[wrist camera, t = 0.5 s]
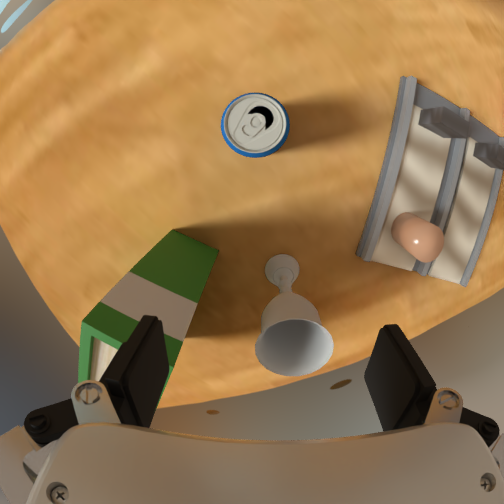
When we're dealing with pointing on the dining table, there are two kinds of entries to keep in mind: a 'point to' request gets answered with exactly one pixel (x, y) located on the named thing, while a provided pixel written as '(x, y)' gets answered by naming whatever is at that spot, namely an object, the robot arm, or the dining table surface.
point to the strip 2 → (467, 209)
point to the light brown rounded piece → (418, 236)
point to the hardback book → (148, 302)
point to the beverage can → (255, 125)
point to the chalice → (291, 326)
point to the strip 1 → (419, 176)
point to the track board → (428, 99)
